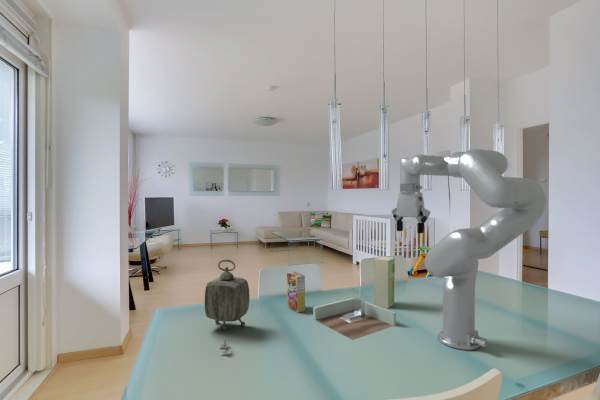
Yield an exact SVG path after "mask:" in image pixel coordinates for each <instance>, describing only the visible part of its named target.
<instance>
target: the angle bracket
mask: <svg viewBox="0 0 600 400" xmlns="http://www.w3.org/2000/svg"><path fill="white" fill-rule="evenodd" d="M353 298H354V297H353ZM365 302H366V300H365V299H364V298H363V297H362V298H361V297H360V296H355V298H354V312H352V313H349V314H345V315H343V318H344V319H346V320H348V321H353V320H356V319H360V318H363V317H365Z"/></svg>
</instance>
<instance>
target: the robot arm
mask: <svg viewBox="0 0 600 400" xmlns="http://www.w3.org/2000/svg"><path fill="white" fill-rule="evenodd" d="M508 167H509V161H508V158H507V157H506V156H505V155H504V154H503V153H502V152H500V151H496V150H491V149H479V148H472V149H469V150H466V151H456V152H454V153H452V154H451V155H432V154H431V155H430V154H416V155H413V156H411V157H404V158H401V160H400V162H399V193H398V196H397V202H396V207H395V208H394V209H392V210H391V214H392V218H394V221H395V222H396V232H403V231H404V221H403V219H404V218H409V219H410V218H411V219H412V218H413V219H414V218H415V219H416V220H417V223H416V229H417V230H416V232H417V234H424V233H425V223H427V221H428V219H429V217H430V215H431V211H429V210H428V209H426V208H425V200H424V196H423V192H421V190H422V189H423V185H421V176H436V177H437V176H441V177H453V178H457V179H459V178H461V179H463V180H464V181H465V182H466V184H467V185H468V186H469V187H470V188H471V190H473V192H474V193H475V194H476V196H477V197H478V198H479V200H480V201H482V202H483V203H484V204H485V205H487V206H489V207H491V208H494V209H500V211H498V212H496V213H494V214H493V215H491V216H490V217H489V218H488V219H487V220H485V221H484V222H483V223H481V224H480V225H478V226H476V227H470V228H469V227H468V228H458V229H454V230H453V231H451V232H449V233H447V234H446V235H445V236H444V237H443V238H442V239H441V240H439V241H437V243H436V244H435V245H434V246H433V247H432V248H430V249H429V251H428V252H427V253H426V255H425V257H424V258H425V259H424V266H425V269H426V271H427V272H428V273H429V274H430V275H431V276H433V277H435V278H440V279H444V280H443V285H442V330H441V331H439V332H438V333H437V339H438V340H439V342H441V343H442V344H444V345H445V346H448V347H451V348H453V349H458V350H463V351H465V350H466V351H473V350H477V349H479V348H480V347H483V348H487V347H488V339H487V338H485V337H482V336H480V335H479V330H476V318H475V317H476V279H477V274H478V269H479V260H485V259H488V258H490V257H492V256H493V255H495V254H496V253H497V252H499V251H500V250H502V249H503V248H505V247H506V246H507V245H508V244H510V243H512V242H513V241H514V240H515V239H517V238H518V237H519V236H521V235H523V234H524V233H526V232H527V231H528V230H530V229H531V228H532V227H533V226H535V224H537V222H538V221H540V219H541V218H542V216H543V215H544V212H545V209H546V204H547V197H546V192H545V190H544V188H543V187H542V185H541V184H540V183H538V181H535V180H534V179H529V178H526V177H516V176H515V177H513V176H512V177H511V176H503V174H504V173H505V172H506V171H507V169H508Z"/></svg>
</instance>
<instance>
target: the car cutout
mask: <svg viewBox="0 0 600 400" xmlns="http://www.w3.org/2000/svg"><path fill="white" fill-rule="evenodd" d="M223 341H224V343H221V344H220V345H219V349H224V350H222V351H221V352H220V356H227V355H232V350H231V349H228V350H227V348H230V347H231V345H230V343H227V339H226V337H224V339H223Z"/></svg>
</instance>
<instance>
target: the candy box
mask: <svg viewBox="0 0 600 400" xmlns="http://www.w3.org/2000/svg"><path fill="white" fill-rule="evenodd" d="M305 277H306V276H305V275H303V274H301V273H299V272H296V271H289V272H286V283H287V284H286V297H287V299H286V300H287V308H289V309H290V310H292V311H294V312H296V313H297V314H299V313H302V312H306V278H305Z"/></svg>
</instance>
